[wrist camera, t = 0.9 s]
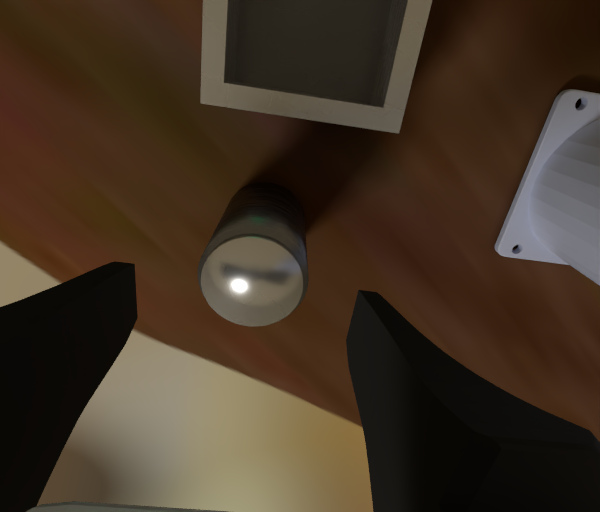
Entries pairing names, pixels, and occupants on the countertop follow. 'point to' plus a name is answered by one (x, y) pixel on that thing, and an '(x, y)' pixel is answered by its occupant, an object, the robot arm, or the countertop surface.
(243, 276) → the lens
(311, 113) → the mount socket
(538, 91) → the countertop surface
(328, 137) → the countertop surface
